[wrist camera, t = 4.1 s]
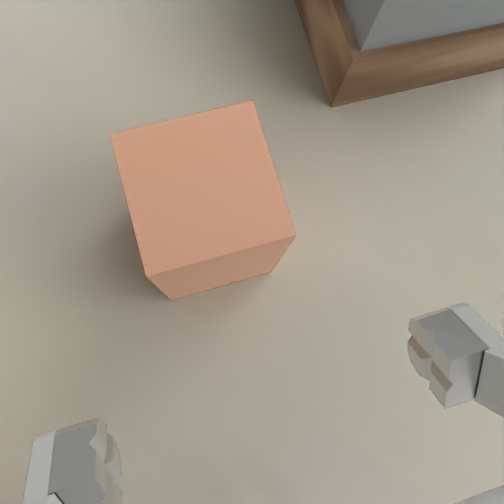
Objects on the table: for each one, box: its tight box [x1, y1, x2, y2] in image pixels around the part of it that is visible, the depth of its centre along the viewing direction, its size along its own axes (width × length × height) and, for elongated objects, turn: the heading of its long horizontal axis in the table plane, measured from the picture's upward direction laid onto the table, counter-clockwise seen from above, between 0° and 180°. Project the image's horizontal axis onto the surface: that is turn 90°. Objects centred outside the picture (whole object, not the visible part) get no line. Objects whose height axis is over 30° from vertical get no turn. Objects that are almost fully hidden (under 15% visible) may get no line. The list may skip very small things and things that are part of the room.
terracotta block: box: [110, 100, 296, 300], centre depth 19 cm, size 5×5×8 cm
